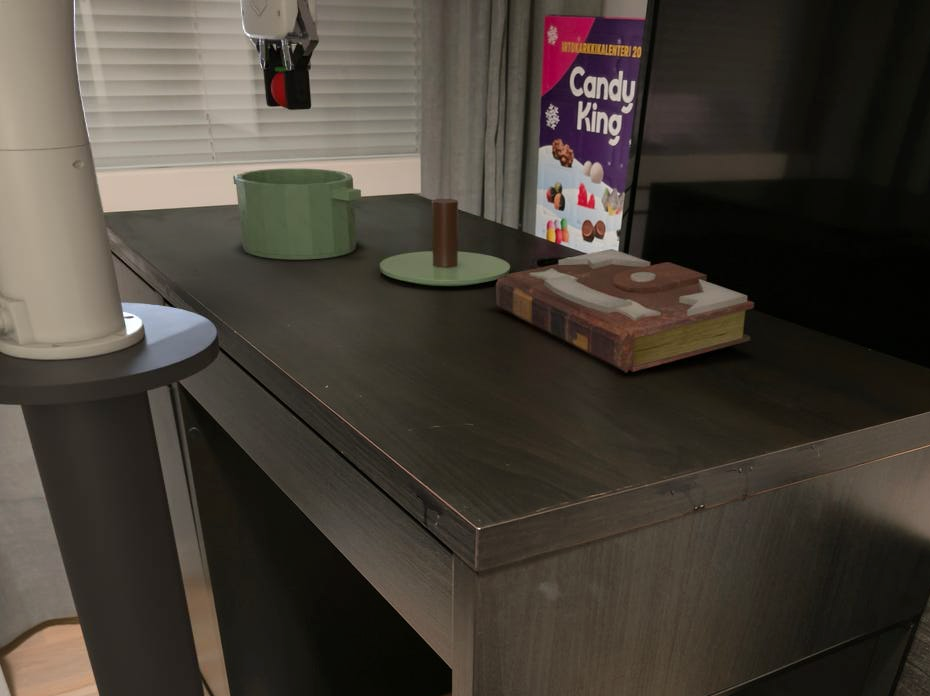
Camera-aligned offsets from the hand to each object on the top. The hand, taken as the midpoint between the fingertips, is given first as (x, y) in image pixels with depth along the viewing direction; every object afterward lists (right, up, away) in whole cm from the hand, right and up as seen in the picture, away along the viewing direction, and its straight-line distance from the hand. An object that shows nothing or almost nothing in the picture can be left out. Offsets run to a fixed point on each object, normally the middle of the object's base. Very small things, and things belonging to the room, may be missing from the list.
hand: (288, 105), depth 112 cm
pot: (0, -13, +9) cm, 16 cm away
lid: (+19, -21, -2) cm, 28 cm away
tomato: (0, 0, 0) cm, 0 cm away
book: (+37, -35, -20) cm, 55 cm away
